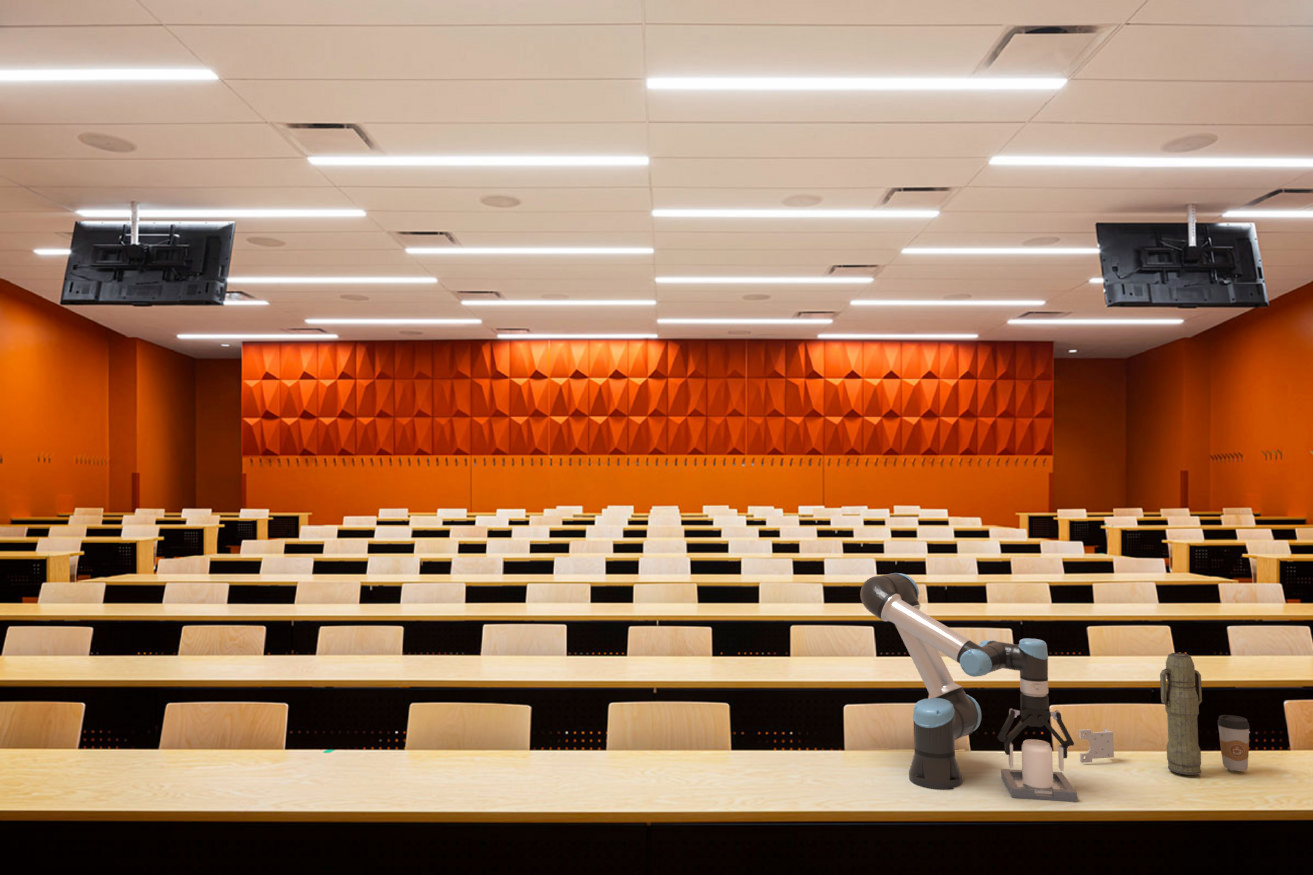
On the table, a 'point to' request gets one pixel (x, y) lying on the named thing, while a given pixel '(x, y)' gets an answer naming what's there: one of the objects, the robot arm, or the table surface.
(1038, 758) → the beverage can
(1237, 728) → the coffee cup
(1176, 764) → the thermos
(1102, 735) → the bracket
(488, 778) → the table surface
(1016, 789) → the chassis pocket
